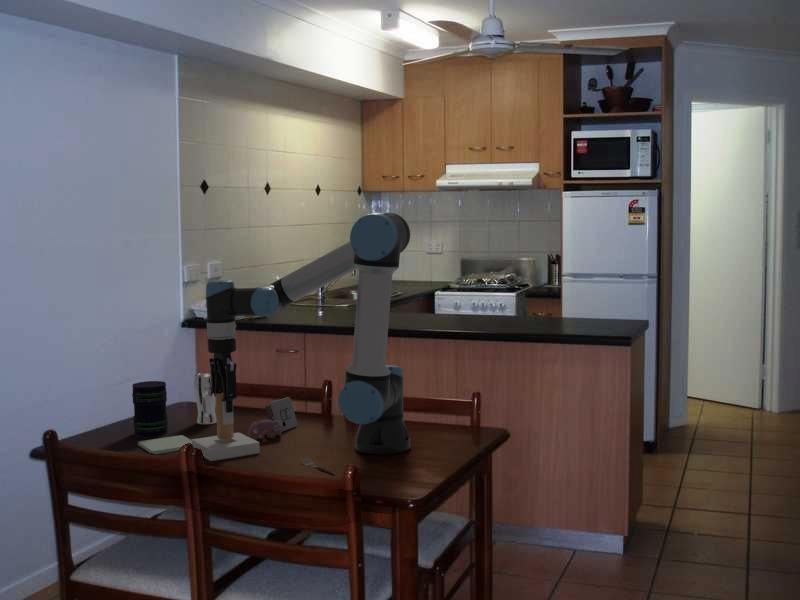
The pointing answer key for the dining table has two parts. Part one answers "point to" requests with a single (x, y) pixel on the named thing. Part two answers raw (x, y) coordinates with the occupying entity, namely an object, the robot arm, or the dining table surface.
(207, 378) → the beer glass
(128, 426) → the dining table surface
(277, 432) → the pink animal figurine
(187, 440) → the mat
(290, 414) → the electrical switch
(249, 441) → the white square flat box
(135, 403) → the storage jar
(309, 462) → the fork
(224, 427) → the plug
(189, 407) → the dining table surface
